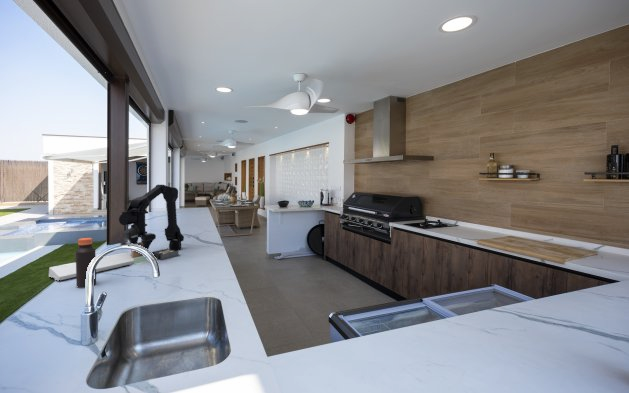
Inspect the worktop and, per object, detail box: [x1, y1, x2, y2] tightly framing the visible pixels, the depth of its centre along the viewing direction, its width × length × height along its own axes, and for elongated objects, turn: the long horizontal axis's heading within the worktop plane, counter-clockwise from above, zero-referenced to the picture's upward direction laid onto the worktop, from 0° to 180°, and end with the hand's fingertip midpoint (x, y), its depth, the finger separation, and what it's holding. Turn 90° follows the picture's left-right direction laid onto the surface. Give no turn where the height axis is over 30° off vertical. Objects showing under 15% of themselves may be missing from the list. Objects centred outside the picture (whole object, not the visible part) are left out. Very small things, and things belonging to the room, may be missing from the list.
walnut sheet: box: [130, 241, 143, 258], centre depth 171 cm, size 8×2×10 cm, turn 154°
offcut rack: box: [151, 248, 181, 261], centre depth 182 cm, size 12×12×4 cm
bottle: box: [75, 237, 97, 288], centre depth 134 cm, size 7×7×20 cm
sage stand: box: [132, 256, 149, 265], centre depth 171 cm, size 11×8×4 cm
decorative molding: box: [48, 252, 136, 282], centre depth 155 cm, size 34×5×10 cm
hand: (139, 251), depth 171 cm, fingers open, 9 cm apart
